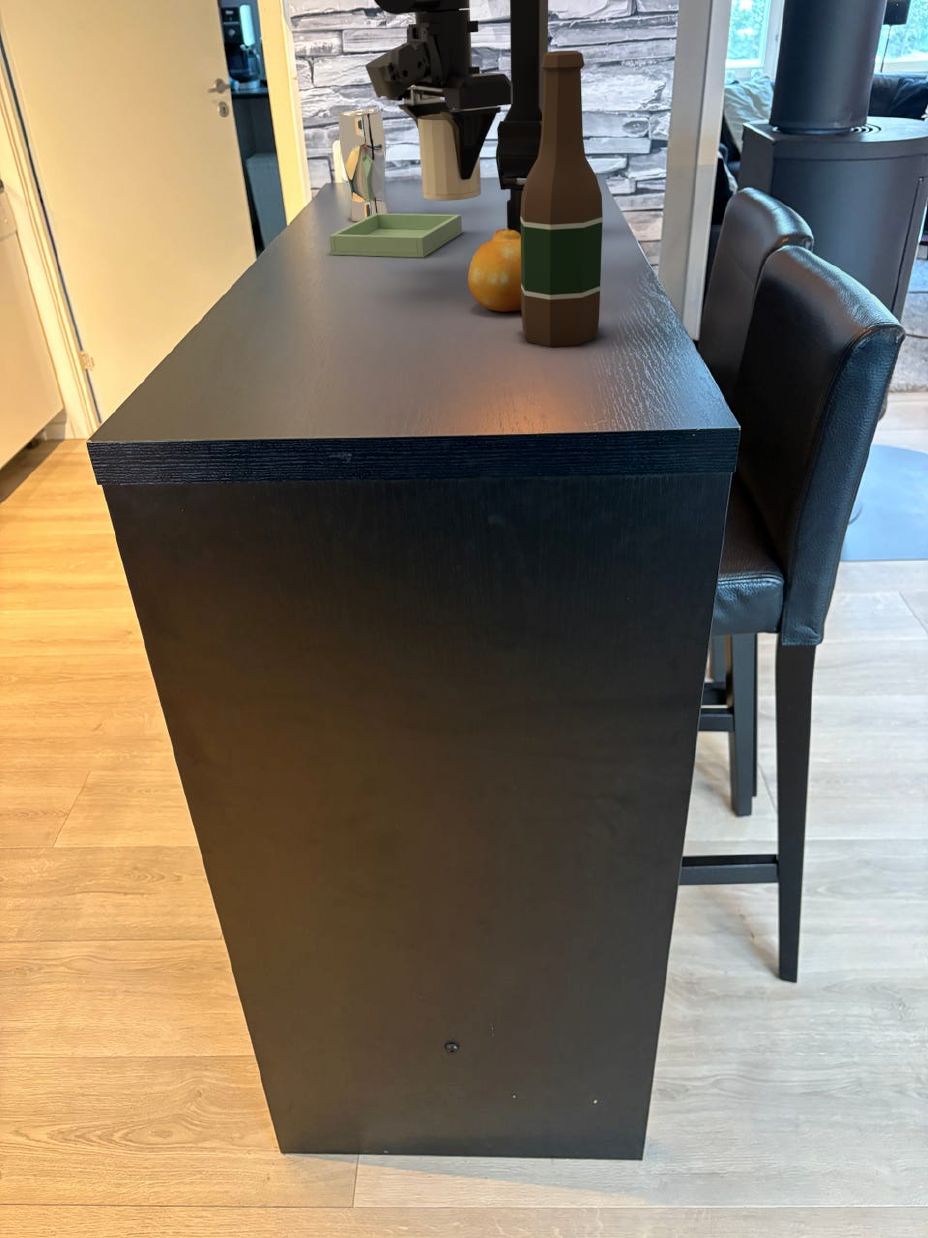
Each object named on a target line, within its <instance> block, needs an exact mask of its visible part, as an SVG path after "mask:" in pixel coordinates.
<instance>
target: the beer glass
mask: <svg viewBox="0 0 928 1238" xmlns="http://www.w3.org/2000/svg"><path fill="white" fill-rule="evenodd" d="M337 116H338V137H339V138H338V139H339V147H340V155H341V160H342V164H343V167H344V171H345V175H346V179H347V183H348V186H349V193H350V220H351V221H353V222H355V223H356V222H358V221H361V220H363V219H365V218H367V217H369V216H371V215H373V214H375V213H379V214H380V213H383V214H390V213H389V210H388V206H387V201H386V196H385V195H386V194H385V179H386V178H385V177H386V176H385V175H386V163H387V162H386V161H387V144H386V143H387V142H386V132H385V126H384V119H383V113H382V110H381V109H373V108H372V109H370V108H369V109H352V110H345V111H339V112H338V113H337Z"/></svg>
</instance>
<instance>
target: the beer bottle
mask: <svg viewBox="0 0 928 1238" xmlns="http://www.w3.org/2000/svg"><path fill="white" fill-rule="evenodd" d="M585 66H586V64H585V61H584V56H583V52H581V51H579V50H556V51H548V53H546V54H544V55H543V60H542V64H541V67H542V68H543V69H544V71H545V74H544V93H543V111H542V130H541V142H540V148H539V155H538V158H537V160H536V162H535V164H534V165H533V167H532V169H531V171H530V172H529V174H528V176H527V179H525V180H526V182H525V185H524V189H523V192H522V198H521V215H520V219H521V306H522V310H521V322H522V324H521V325H522V331H523V334H524V337H525V339H526V341H527V343H530V344H536V345H540V346H545V347H550V348H553V347H566V346H567V347H568V346H581V345H582V344H585V343H587V342H589V341H591V340H593V339H596V338H597V336H598V334H599V323H600V307H601V306H600V305H601V304H600V303H601V280H602V277H601V276H602V250H603V247H602V246H603V221H604V220H603V219H604V217H603V216H604V215H603V213H604V212H603V195H602V192H601V187H600V184H599V181H598V177H597V175H596V173H595V171H594V169H593V168H592V166H591V164H590V162H589V161H588V158H587V157H586V151H585V150H586V149H585V143H584V128H583V127H584V126H583V99H582V97H583V96H582V69H583V68H584V67H585Z"/></svg>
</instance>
